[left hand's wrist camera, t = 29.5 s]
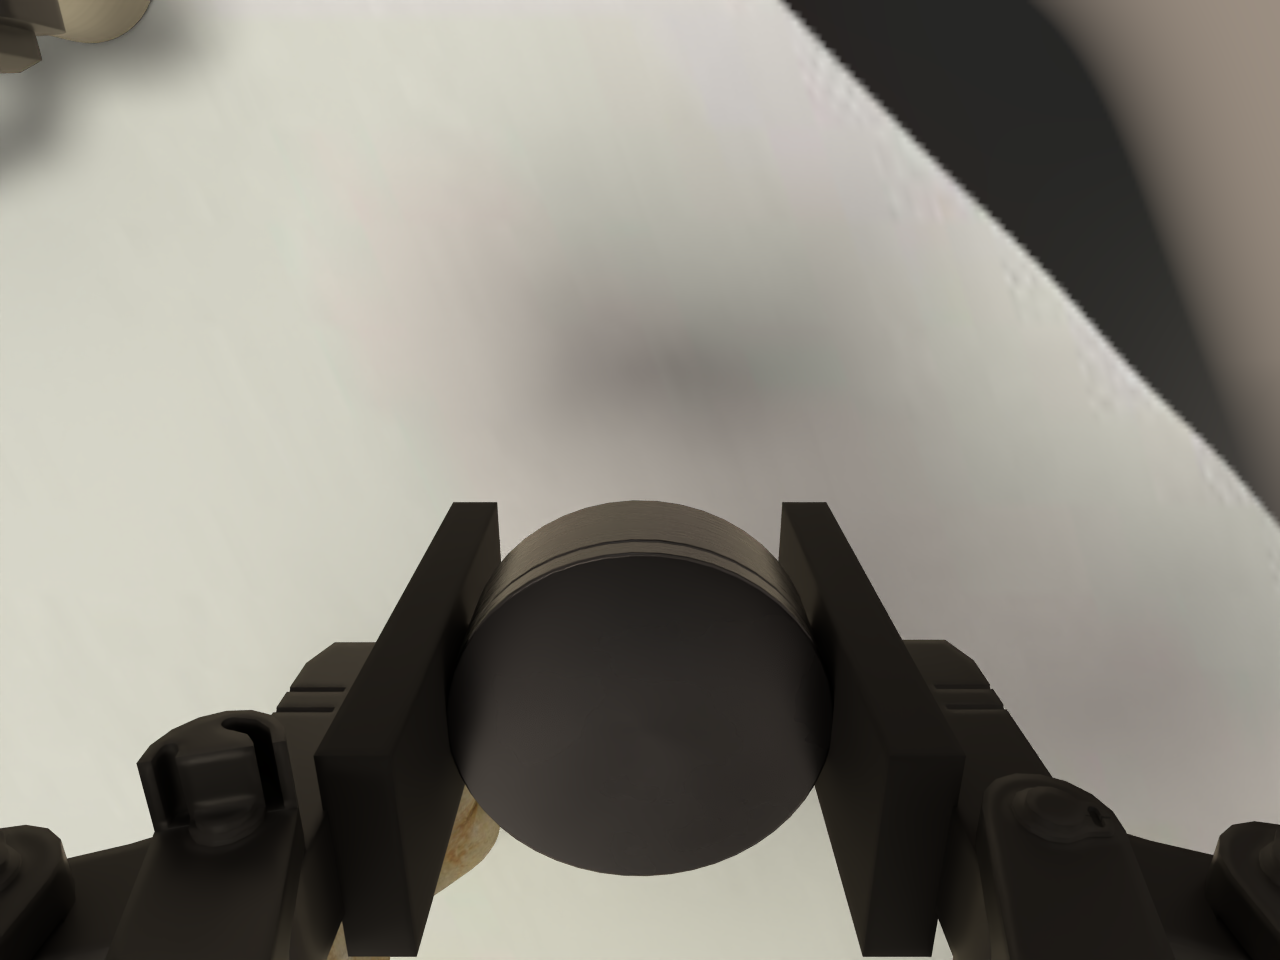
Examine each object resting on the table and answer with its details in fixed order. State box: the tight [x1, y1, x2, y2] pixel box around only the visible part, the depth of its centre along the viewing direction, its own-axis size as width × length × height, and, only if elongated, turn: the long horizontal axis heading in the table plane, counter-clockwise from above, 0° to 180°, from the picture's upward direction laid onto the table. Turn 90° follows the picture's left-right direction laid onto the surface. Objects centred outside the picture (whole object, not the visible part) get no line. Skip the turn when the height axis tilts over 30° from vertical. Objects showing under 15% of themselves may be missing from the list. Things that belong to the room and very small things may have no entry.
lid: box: [446, 501, 834, 876], centre depth 11 cm, size 5×5×2 cm
